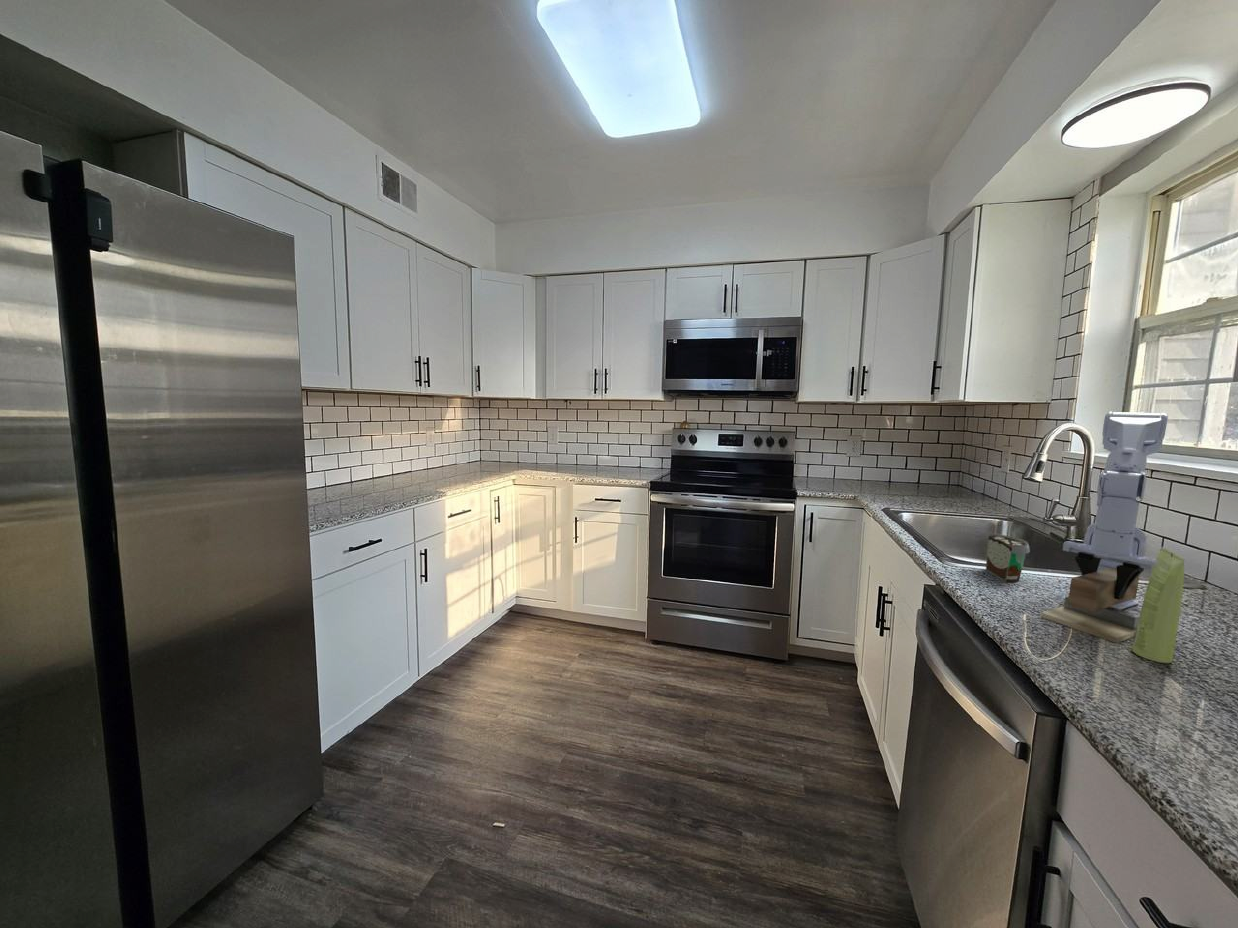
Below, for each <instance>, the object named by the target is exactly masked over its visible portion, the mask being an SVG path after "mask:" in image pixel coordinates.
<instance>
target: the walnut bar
mask: <svg viewBox="0 0 1238 928" xmlns="http://www.w3.org/2000/svg"><path fill="white" fill-rule="evenodd" d="M1140 575H1141V573H1140V574H1139V575H1138V576H1137V577H1136V578H1135V580H1134V581H1133V582H1132V583H1131V584H1130V586H1129V587H1128V589H1127V591H1126V593H1125V595H1124V597H1123V599H1120V600H1118V599H1114V592H1115V588H1116V583H1117V569H1116V568H1115V567H1114V568H1110V569H1106V570H1102V571H1098V572H1094V573H1090V574H1086V575H1082V574H1081V575H1077V576H1074V577H1071V580H1070V585H1069V592H1068V596H1069V598H1068V604H1069V605H1073V606H1076V607H1079V608H1082V609H1086V610H1089V611H1092V612H1094V611H1098V610H1101V609H1104V608H1107V607H1110V606H1114V605H1117V604H1120V603H1123V602H1126V601H1130V600H1133V599H1134V600H1136V597H1137V592H1138V588H1139V581H1140Z"/></svg>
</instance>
